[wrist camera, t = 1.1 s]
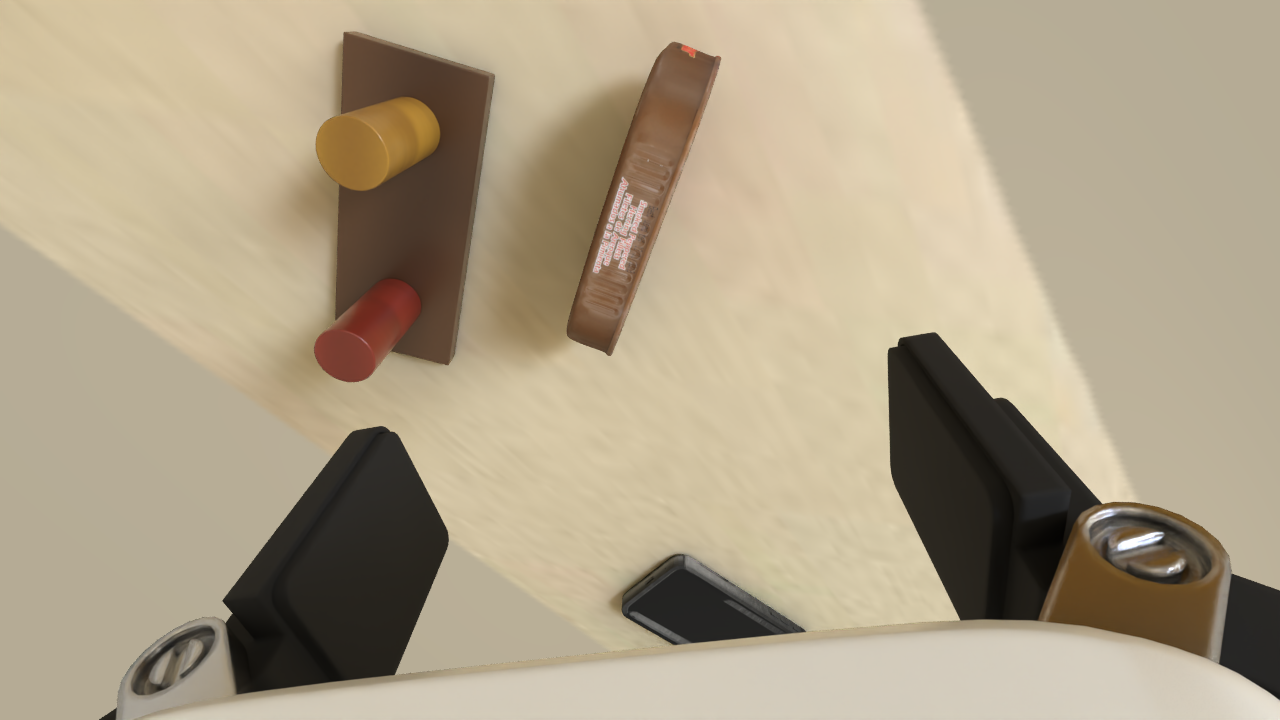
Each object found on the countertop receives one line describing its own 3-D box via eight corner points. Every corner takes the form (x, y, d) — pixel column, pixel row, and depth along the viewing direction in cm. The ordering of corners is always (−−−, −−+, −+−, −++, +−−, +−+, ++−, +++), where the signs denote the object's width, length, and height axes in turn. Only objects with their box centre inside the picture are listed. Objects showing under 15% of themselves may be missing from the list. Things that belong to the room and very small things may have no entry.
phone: (748, 687, 53) (615, 611, 48) (746, 675, 54) (616, 600, 49) (816, 646, 50) (681, 561, 45) (813, 633, 51) (681, 549, 46)
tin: (622, 315, 37) (612, 390, 29) (573, 299, 36) (549, 370, 29) (720, 54, 29) (739, 67, 22) (660, 30, 29) (659, 34, 22)
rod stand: (343, 328, 38) (273, 396, 31) (354, 30, 29) (261, 35, 23) (454, 356, 38) (409, 429, 32) (495, 74, 30) (446, 91, 23)
